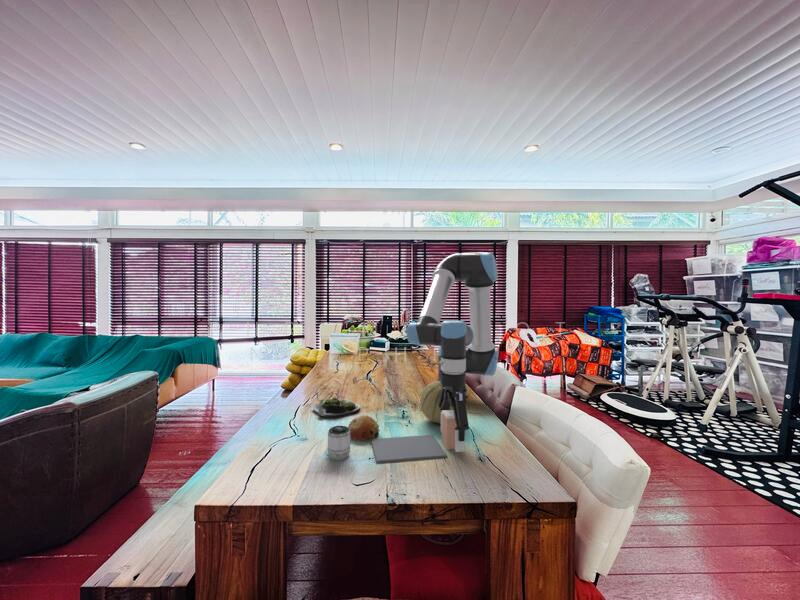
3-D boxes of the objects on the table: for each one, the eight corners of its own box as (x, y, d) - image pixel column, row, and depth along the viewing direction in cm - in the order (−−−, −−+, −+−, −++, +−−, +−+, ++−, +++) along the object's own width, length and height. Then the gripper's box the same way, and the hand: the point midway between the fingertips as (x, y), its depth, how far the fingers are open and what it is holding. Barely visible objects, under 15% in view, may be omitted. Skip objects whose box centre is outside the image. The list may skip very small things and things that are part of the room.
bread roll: (369, 438, 116) (363, 415, 118) (388, 434, 109) (381, 409, 112) (345, 447, 109) (339, 422, 111) (363, 443, 102) (357, 416, 105)
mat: (432, 436, 110) (432, 434, 110) (446, 457, 96) (446, 455, 96) (371, 440, 106) (371, 439, 106) (376, 462, 92) (376, 460, 92)
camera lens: (336, 448, 100) (336, 422, 100) (354, 453, 98) (354, 426, 97) (322, 457, 95) (323, 430, 94) (341, 463, 92) (341, 434, 92)
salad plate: (301, 408, 136) (302, 396, 136) (341, 399, 147) (341, 389, 147) (323, 422, 121) (324, 409, 121) (365, 412, 132) (365, 400, 132)
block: (456, 441, 106) (457, 409, 106) (462, 448, 101) (463, 415, 101) (441, 442, 105) (442, 410, 105) (446, 449, 101) (447, 416, 100)
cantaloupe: (432, 411, 133) (432, 373, 132) (466, 420, 124) (467, 379, 124) (411, 423, 121) (411, 381, 120) (448, 433, 112) (448, 388, 112)
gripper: (429, 363, 115) (429, 425, 115) (455, 382, 90) (454, 461, 90) (451, 363, 116) (450, 424, 116) (481, 381, 91) (480, 459, 92)
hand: (452, 441), depth 103 cm, fingers open, 13 cm apart
